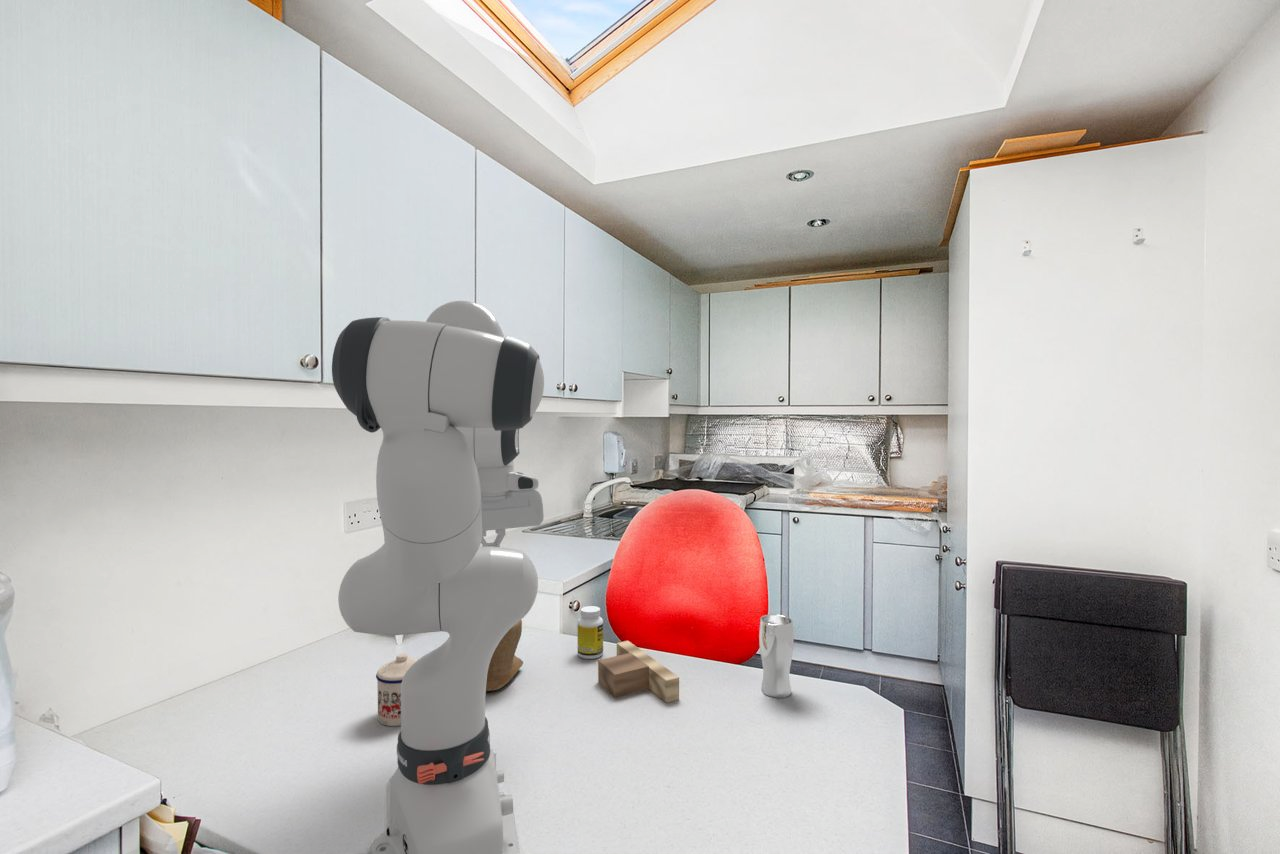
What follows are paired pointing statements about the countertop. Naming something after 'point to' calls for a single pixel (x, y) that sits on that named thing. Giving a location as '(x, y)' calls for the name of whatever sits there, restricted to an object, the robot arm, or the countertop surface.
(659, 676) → the light wooden bar
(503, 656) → the stone cup
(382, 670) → the teacup with lid
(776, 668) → the silver metal tumbler
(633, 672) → the block
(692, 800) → the countertop surface
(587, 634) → the pill bottle
